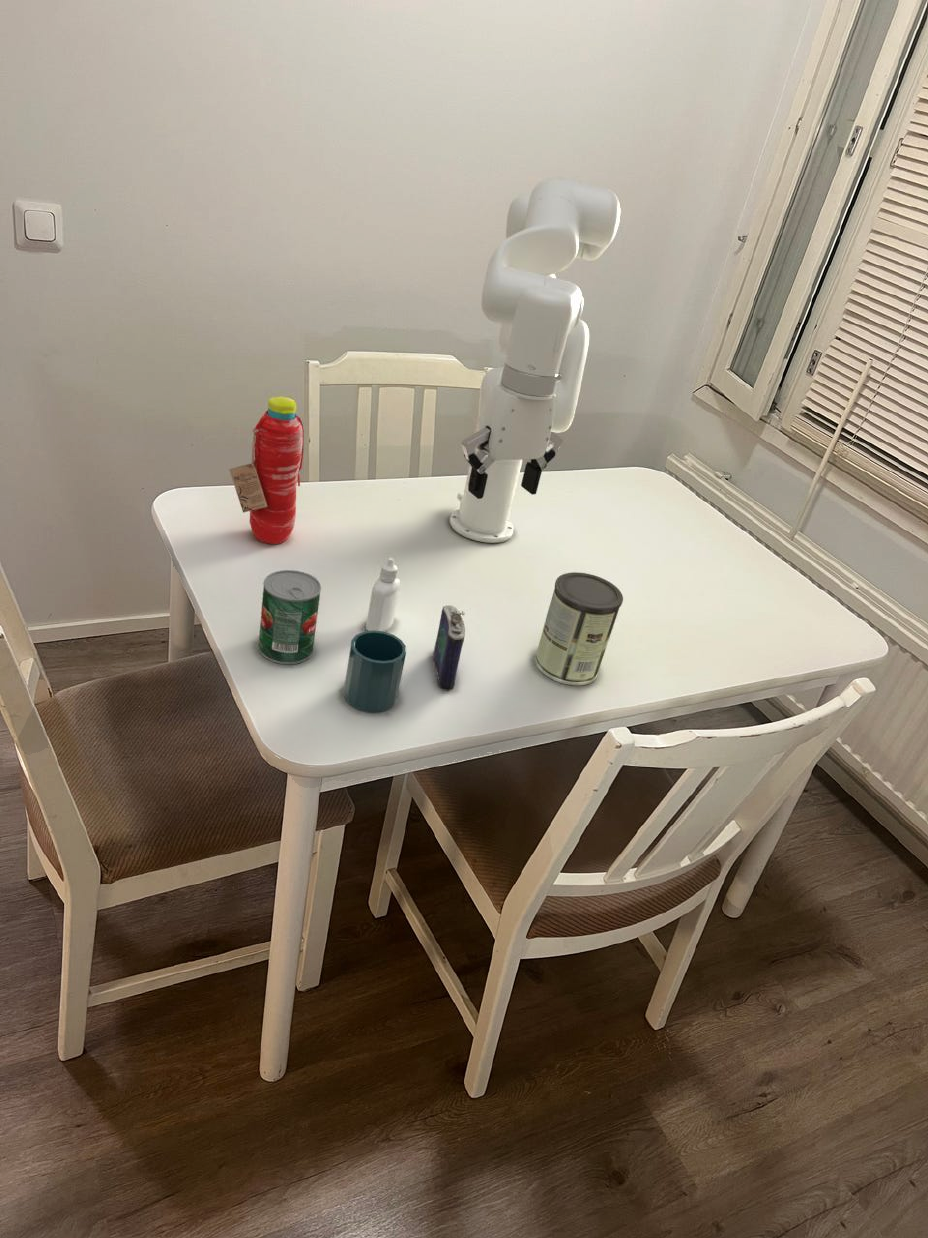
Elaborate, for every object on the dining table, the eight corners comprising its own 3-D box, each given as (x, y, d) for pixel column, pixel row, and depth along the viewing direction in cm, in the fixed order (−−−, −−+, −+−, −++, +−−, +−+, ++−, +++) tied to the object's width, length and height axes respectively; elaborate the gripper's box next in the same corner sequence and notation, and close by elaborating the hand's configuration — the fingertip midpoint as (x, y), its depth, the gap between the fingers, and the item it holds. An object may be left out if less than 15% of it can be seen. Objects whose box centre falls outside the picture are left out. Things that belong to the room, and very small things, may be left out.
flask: (431, 652, 136) (443, 593, 130) (449, 653, 136) (463, 594, 130) (437, 690, 128) (451, 629, 122) (457, 691, 129) (472, 630, 123)
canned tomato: (250, 637, 130) (255, 572, 124) (301, 629, 134) (309, 566, 128) (268, 668, 125) (274, 603, 119) (321, 660, 129) (329, 596, 123)
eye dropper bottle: (402, 629, 139) (414, 563, 133) (371, 636, 136) (382, 569, 130) (387, 614, 142) (398, 549, 136) (357, 621, 139) (367, 554, 132)
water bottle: (241, 554, 149) (250, 411, 136) (220, 532, 154) (228, 392, 140) (305, 544, 156) (320, 407, 143) (284, 523, 161) (296, 389, 147)
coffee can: (561, 639, 146) (583, 565, 138) (610, 672, 140) (636, 597, 133) (520, 658, 139) (541, 581, 131) (570, 694, 133) (595, 616, 126)
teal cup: (336, 683, 125) (343, 633, 120) (384, 676, 128) (393, 627, 124) (354, 716, 120) (363, 666, 115) (404, 708, 123) (414, 659, 119)
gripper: (560, 371, 131) (533, 478, 140) (462, 370, 122) (440, 485, 130) (592, 390, 126) (562, 500, 135) (491, 390, 117) (466, 508, 125)
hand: (502, 492), depth 133 cm, fingers open, 9 cm apart
